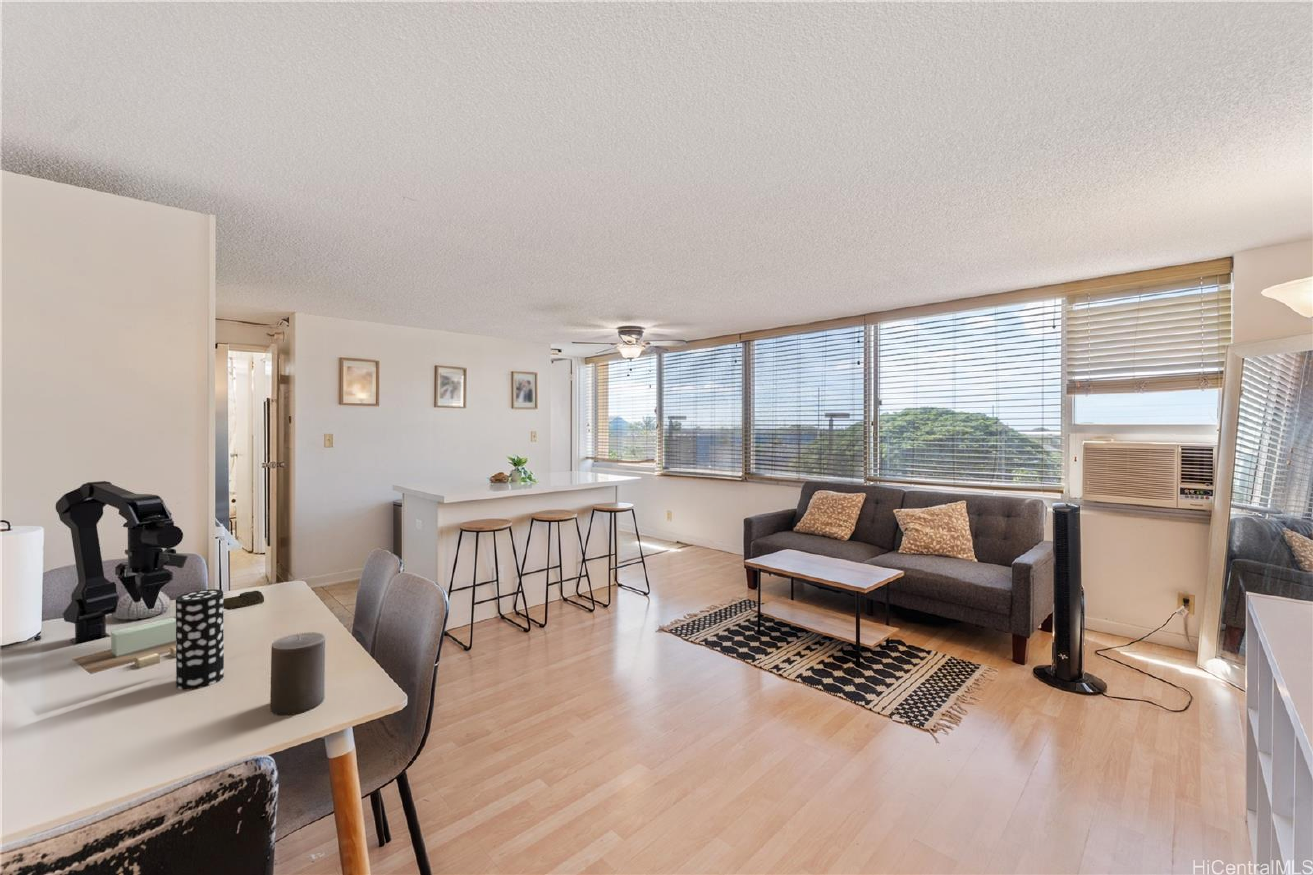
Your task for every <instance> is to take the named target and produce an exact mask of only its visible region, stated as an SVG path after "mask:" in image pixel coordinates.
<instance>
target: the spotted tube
mask: <svg viewBox="0 0 1313 875" xmlns="http://www.w3.org/2000/svg"><path fill="white" fill-rule="evenodd" d="M223 599H224V591H223V590H222V589H217V588H216V589H215V588H214V589H210V588H209V589H200V590H195V591H191V592H185V593H183V594H180V595H178V596H177V597H175V619H176V658H175V666H176V667H175V669H176V670H175V673H176V674H175V675H176V677H175V678H176V683H175V684H176V689H178V690H182V691H189V690H192V691H193V690H197V689H201V688H205V687H208V686H211V685H213V684H216V683H218V682H220V681H221V680H222V679H223V678H224V677H225V676H224V675H225V672H224V671H225V669H224V667H225V666H224V665H225V664H224V661H225V660H224V658H225V657H224V649H225V648H224V646H225V645H224V638H225V637H224V609H223Z"/></svg>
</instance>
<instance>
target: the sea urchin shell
mask: <svg viewBox="0 0 1313 875" xmlns="http://www.w3.org/2000/svg"><path fill="white" fill-rule="evenodd" d="M171 605H172V601H171V598H170V597H169V596H168V595H167V594H166V593H165V592H162V591H161V590H160V592H159V595H158V597H157V600H156V603H155V606H154V608H153V609H147V607H146V605H145V603H144V601H143V599H142V597H141V601H140V602H134V601H133V599H132V598H131V596H130V595H129V593H128V592H127V593H125V594H124V595H121V597H119V600H118V604H117V608H116V612H115V613H111V616H112V617H114V618H115V619H118V620H125V621H127V620H132V621H133V620H138V619H149V618H152V617H156V616H158V615H162V614H163V613H165V612H167V610H169V608H171Z"/></svg>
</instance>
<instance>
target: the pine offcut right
mask: <svg viewBox="0 0 1313 875" xmlns="http://www.w3.org/2000/svg"><path fill="white" fill-rule="evenodd" d="M169 654H170V656H171V657H173V658H175V659H176V646H173V647H170V652H169Z"/></svg>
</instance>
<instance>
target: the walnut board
mask: <svg viewBox="0 0 1313 875" xmlns="http://www.w3.org/2000/svg"><path fill="white" fill-rule="evenodd" d="M173 646H176V642H175V643H171V644H167V645H164V646H160V647H156V648H152V649H149V650H145V651H141V652H137V653H134V654H130V655H126V656H122V657H119V658H116V657H115V656H113V655H112V654H111V648H110V649H107V650H103V651H99V652H95V653H90V654H87V655H82V656H79V657H75V658H72V661H74V662H75V663H77V664H78V665H79V666H81V667H82V668H83V669H84V670H86V671H87V672H88V673H89V674H90V675H93V674H96V673H99V672H103V671H107V670H110V669H111V670H112V669H115V668H118V667H120V666H123V665H128V664H132V663H135V657H137V656H140V655H144V654H148V653H151V652H155V653H157V654H159V655H161V656H162V655H163V654H167V653H170V647H173Z"/></svg>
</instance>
